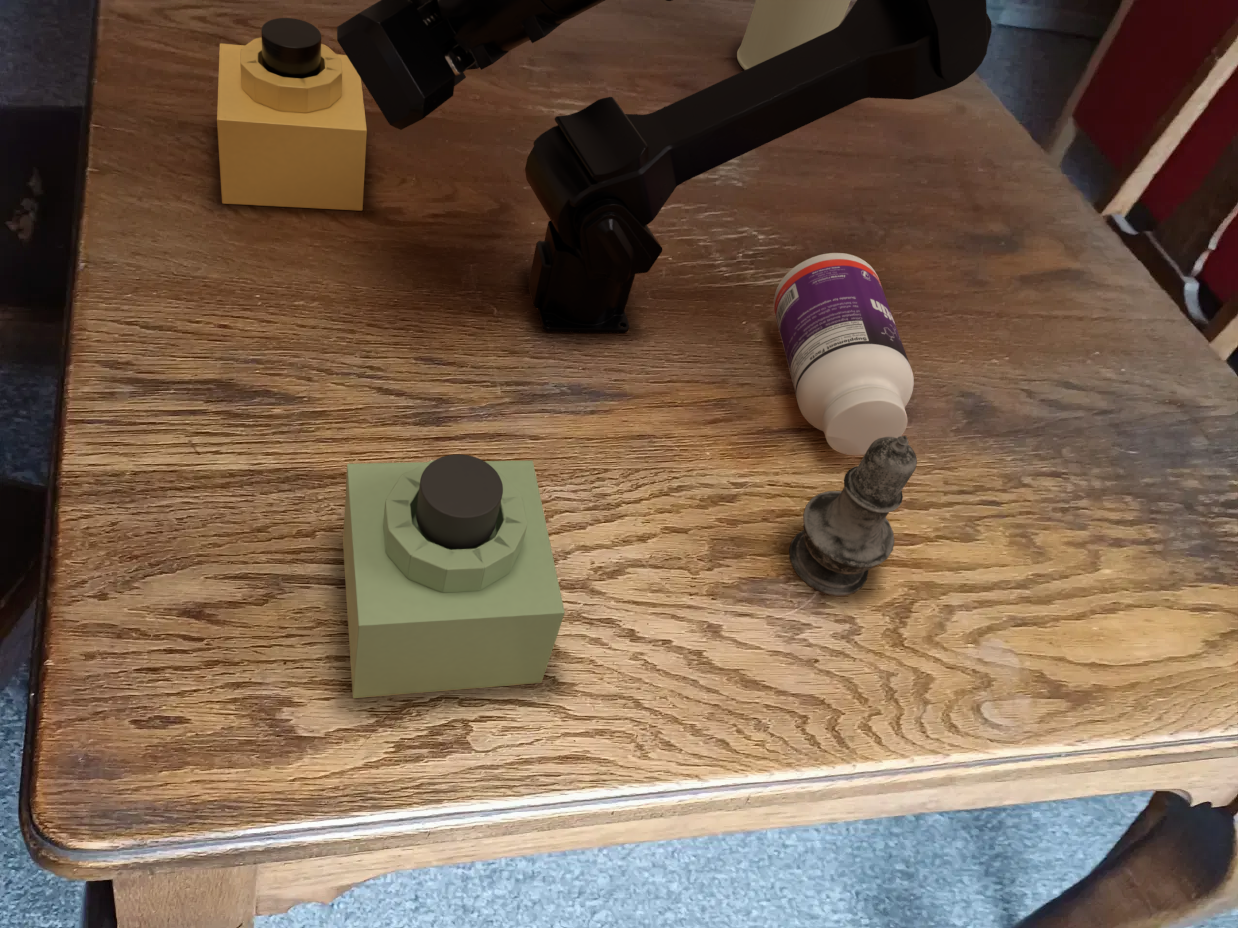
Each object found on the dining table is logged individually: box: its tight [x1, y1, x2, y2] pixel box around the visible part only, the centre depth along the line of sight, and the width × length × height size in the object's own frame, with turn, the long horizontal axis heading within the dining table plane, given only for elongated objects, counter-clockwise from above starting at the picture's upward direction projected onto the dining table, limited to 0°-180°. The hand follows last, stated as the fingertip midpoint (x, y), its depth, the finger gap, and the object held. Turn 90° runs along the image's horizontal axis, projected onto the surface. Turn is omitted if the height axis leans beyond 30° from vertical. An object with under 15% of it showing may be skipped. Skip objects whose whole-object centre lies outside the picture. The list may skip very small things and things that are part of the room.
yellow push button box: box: [216, 36, 368, 212], centre depth 80 cm, size 10×10×9 cm
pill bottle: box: [773, 252, 915, 457], centre depth 77 cm, size 8×8×14 cm
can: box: [736, 0, 852, 71], centre depth 108 cm, size 9×9×12 cm
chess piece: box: [788, 435, 918, 597], centre depth 64 cm, size 6×6×12 cm
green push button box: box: [342, 459, 566, 699], centre depth 57 cm, size 10×10×9 cm
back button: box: [260, 17, 322, 79], centre depth 76 cm, size 4×4×3 cm
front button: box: [416, 453, 503, 549], centre depth 53 cm, size 4×4×2 cm
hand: (372, 69), depth 70 cm, fingers closed
